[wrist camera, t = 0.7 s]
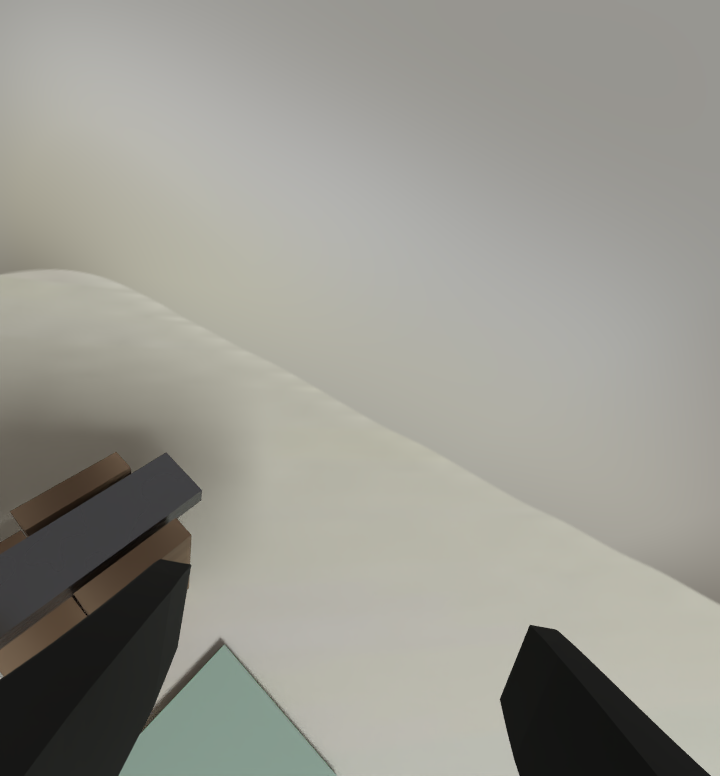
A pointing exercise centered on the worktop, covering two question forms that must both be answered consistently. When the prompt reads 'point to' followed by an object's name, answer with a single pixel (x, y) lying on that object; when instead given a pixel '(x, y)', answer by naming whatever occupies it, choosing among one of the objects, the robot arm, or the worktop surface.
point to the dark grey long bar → (88, 542)
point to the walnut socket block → (161, 545)
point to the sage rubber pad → (223, 731)
